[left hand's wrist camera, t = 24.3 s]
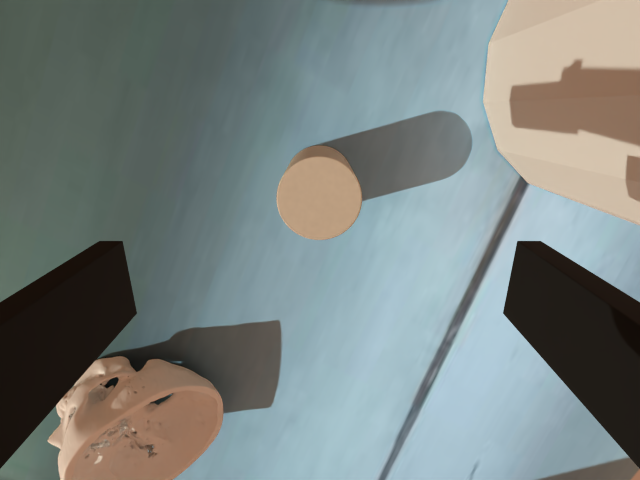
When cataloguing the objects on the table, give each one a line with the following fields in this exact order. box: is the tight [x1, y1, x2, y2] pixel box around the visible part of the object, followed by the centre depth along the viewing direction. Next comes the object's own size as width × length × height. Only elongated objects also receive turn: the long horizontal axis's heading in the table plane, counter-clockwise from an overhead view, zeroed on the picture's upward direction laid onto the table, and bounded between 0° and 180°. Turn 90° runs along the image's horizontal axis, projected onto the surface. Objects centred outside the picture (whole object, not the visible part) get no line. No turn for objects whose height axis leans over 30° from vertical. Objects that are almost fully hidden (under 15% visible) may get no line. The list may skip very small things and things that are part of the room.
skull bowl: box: [47, 356, 223, 480], centre depth 35 cm, size 10×14×12 cm
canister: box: [277, 145, 362, 240], centre depth 28 cm, size 6×6×7 cm
